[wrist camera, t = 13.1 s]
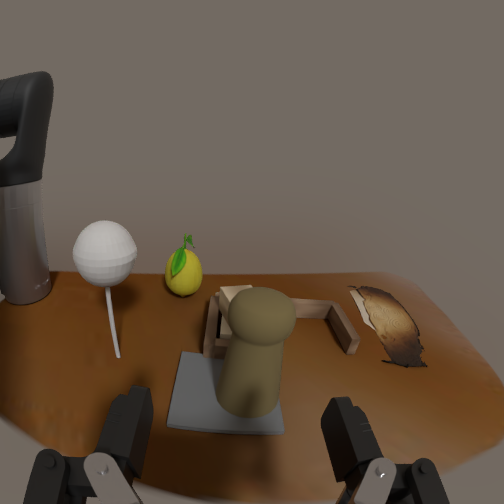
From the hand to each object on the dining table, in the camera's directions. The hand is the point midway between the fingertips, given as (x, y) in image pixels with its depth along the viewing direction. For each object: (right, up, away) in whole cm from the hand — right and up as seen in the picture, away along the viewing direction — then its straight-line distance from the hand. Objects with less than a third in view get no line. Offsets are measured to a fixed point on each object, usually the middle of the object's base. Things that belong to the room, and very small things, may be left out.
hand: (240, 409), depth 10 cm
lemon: (-10, 0, +30) cm, 32 cm away
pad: (-2, -7, +14) cm, 15 cm away
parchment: (+23, -5, +30) cm, 38 cm away
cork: (0, -7, +13) cm, 15 cm away
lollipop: (-14, -5, +15) cm, 21 cm away
